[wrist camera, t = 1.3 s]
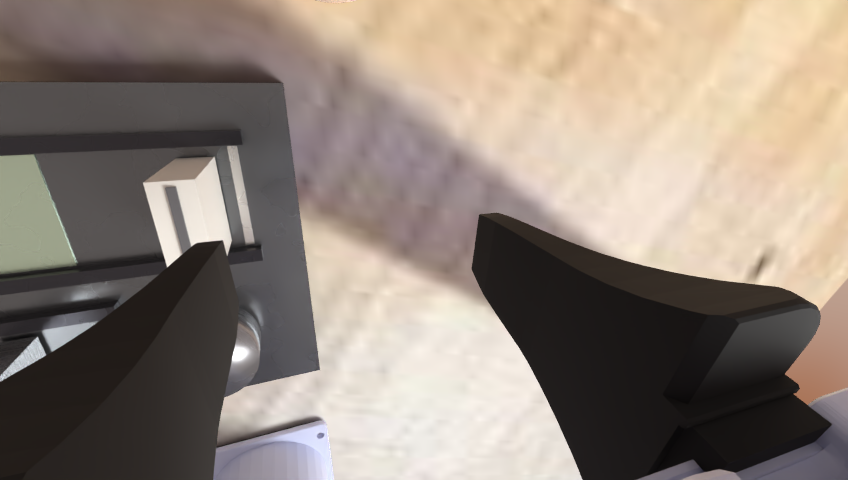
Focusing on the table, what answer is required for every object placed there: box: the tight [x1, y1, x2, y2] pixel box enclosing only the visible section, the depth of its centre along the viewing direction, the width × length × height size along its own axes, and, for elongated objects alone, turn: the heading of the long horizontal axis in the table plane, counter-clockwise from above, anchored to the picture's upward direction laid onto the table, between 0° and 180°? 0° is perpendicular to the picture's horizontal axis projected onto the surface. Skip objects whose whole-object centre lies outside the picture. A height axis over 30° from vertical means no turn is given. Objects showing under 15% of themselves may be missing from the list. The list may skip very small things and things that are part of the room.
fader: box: [143, 156, 232, 267], centre depth 15 cm, size 4×2×5 cm, turn 0°
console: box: [0, 82, 320, 397], centre depth 16 cm, size 16×16×6 cm
